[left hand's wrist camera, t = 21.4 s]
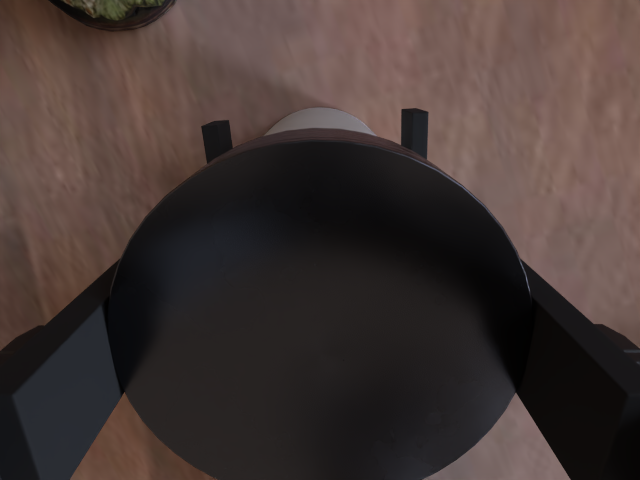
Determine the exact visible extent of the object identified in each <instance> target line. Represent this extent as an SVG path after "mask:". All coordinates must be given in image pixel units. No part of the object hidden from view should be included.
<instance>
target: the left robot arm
mask: <svg viewBox="0 0 640 480" xmlns="http://www.w3.org/2000/svg"><path fill="white" fill-rule="evenodd" d="M520 260H521V259H520ZM119 261H120V259H119V260H118V261H117V262H116V263H114V264H113V265H112V266H111V267H110V268H109V269H108V270H107V271H106V272H104V273H103V274H102V275H101V276H100V277H99V278H98V279H97V280H95V281H94V282H93V283H92V284H91V285H90V286H89V287H88V288H86V289H85V290H84V291H83V292H82V293H81V294H80V295H79V296H78V297H76V298H75V299H74V300H73V301H72V302H71V303H70V304H69V305H67V306H66V307H65V308H64V309H63V310H62V311H61V312H60V313H58V314H57V315H56V316H55V317H54V318H53V319H52V320H51V321H50V322H48V323H47V324H46V325H45V326H37V327H35V328H33V329H31V330H29V331H28V332H26V333H24V334H22V335H20V336H18V337H16V338H15V339H14V340H13V341H12V342H10V343H9V344H8V345H7V346H6V347H4V348H3V349H2V350H1V351H0V480H70V478H71V476H72V475H73V473H74V472H75V470H76V468H77V467H78V465H79V464H80V462H81V460H82V459H83V457H84V456H85V454H86V452H87V451H88V449H89V448H90V446H91V444H92V443H93V441H94V440H95V438H96V436H97V435H98V433H99V432H100V430H101V429H102V427H103V425H104V424H105V422H106V421H107V419H108V417H109V416H110V414H111V413H112V411H113V409H114V408H115V406H116V405H117V403H118V401H119V400H120V398H121V397H122V395H123V393H124V392H125V391H124V389H123V387H122V385H121V383H120V381H119V378H118V375H117V372H116V369H115V366H114V363H113V359H112V354H111V349H110V344H109V339H108V305H109V298H110V290H111V285H112V282H113V279H114V275H115V272H116V269H117V266H118V263H119ZM521 263H522V265H523V268H524V270H525V273H526V276H527V280H528V285H529V289H530V294H531V298H532V314H533V330H532V340H531V346H530V351H529V355H528V360H527V364H526V368H525V371H524V374H523V376H522V379H521V381H520V384H519V386H518V388H517V391H516V393H517V395H518V396H519V398H520V399H521V401H522V403H523V404H524V406H525V407H526V409H527V411H528V412H529V414H530V415H531V417H532V419H533V420H534V422H535V423H536V425H537V426H538V428H539V430H540V431H541V433H542V434H543V436H544V438H545V439H546V441H547V442H548V444H549V446H550V447H551V449H552V450H553V452H554V454H555V455H556V457H557V458H558V460H559V462H560V463H561V465H562V466H563V468H564V470H565V471H566V473H567V474H568V476H569V478H570V479H571V480H640V349H639V348H638V347H637V346H636V345H635V344H633V343H632V342H631V341H630V340H629V339H627V338H626V337H625V336H623V335H622V334H620V333H618V332H616V331H614V330H612V329H610V328H608V327H606V326H605V325H603V324H593V323H592V322H591V321H590V320H589V319H587V318H586V317H585V316H584V315H583V314H582V313H581V312H580V311H578V310H577V309H576V308H575V307H574V306H573V305H572V304H571V303H569V302H568V301H567V300H566V299H565V298H564V297H563V296H562V295H561V294H559V293H558V292H557V291H556V290H555V289H554V288H553V287H552V286H550V285H549V284H548V283H547V282H546V281H545V280H544V279H543V278H541V277H540V276H539V275H538V274H537V273H536V272H535V271H534V270H533V269H531V268H530V267H529V266H528V265H527V264H526V263H525V262H524V261H522V260H521Z"/></svg>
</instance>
